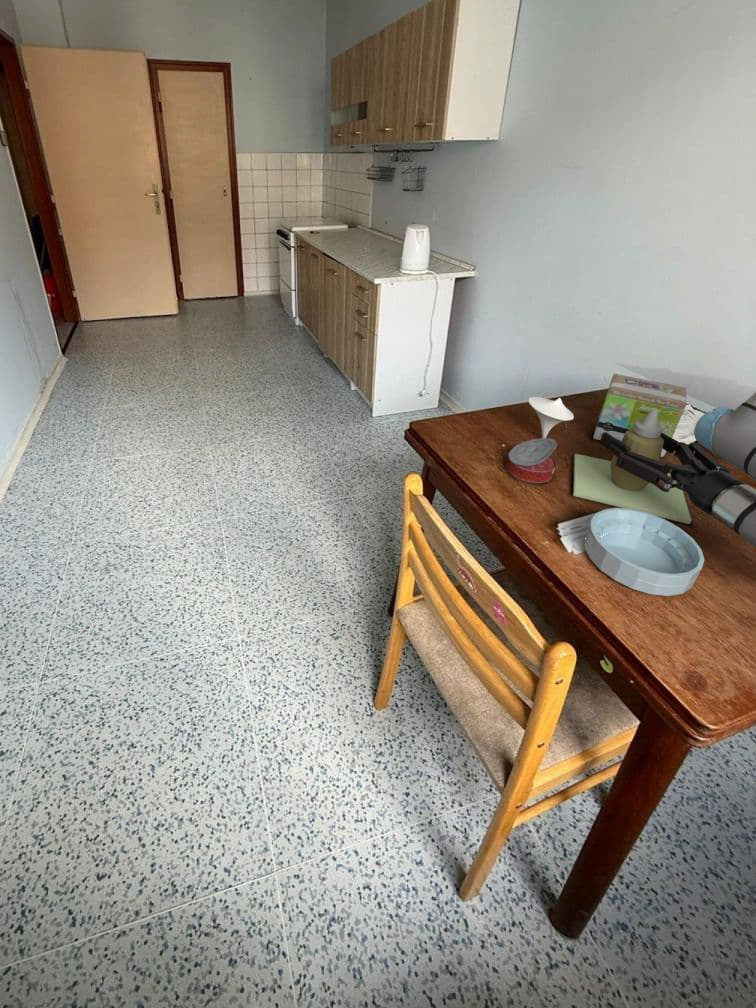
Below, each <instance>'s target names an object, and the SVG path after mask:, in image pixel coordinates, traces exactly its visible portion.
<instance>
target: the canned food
mask: <svg viewBox="0 0 756 1008" xmlns="http://www.w3.org/2000/svg"><path fill="white" fill-rule="evenodd" d="M557 447H558V443H557V440H556V439H553V438H550V437H546V438H542V437H540V438H532V439H530V440H526V441H522V442H521V443H519V444H516V445H515V446H514V447H513V448H511V450H510V451H509V452H508V455H507V460H506V464H505V467H506V470H507V471H508V473H509V474H510V475H512V476H513V477H515V478H516V479H519V480H521V481H523V482H528V483H532V484H541V483H545V482H546V483H547V482H549V481H551V480H552V479H553V477H554V473H555V469H556V466H557V462H556V460H555V458H554V457H553V456H552V454H553V452H554V451H555V450H556V449H557Z"/></svg>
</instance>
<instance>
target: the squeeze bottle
mask: <svg viewBox="0 0 756 1008" xmlns="http://www.w3.org/2000/svg"><path fill="white" fill-rule="evenodd" d="M657 421H658V409H656V408H651V410H650V411H649V412H648V414H647V415H646V417H645V418H644V419H643V420H638V421H636V422H635V424H634V427H633V429H629V430H627V431H626V433H625V435H624V437H623V439H622V441H621V442H622V443H623V444H625V445H626V446H628V447H630V448H631V452H634V453H637V454H639V455H642V456H645V457H648V458H651V459H654V460H656V461H659V462H660V460H661V457H660V456H661V452H662V448H663V444H664V439H663V438H662V437H661V436H660V435H661V433H662V430H663V428H662V427H661V426H660V425H659V424H657ZM617 459H618V457H617V456H615V455H614V454H613V457H612V459H611V460H610V461H611V465H610V467H611V478H612V481H613V483H614V484H616V485H617V486H618V487H621V488H623V489H626V490H629V491H640V490H642V489H643V488H644V487H645V486H646V485H647V484H649V482H647V481H645V480H643V479H641V478H639V477H637V476H635V475H633V474H631V473H629V472H627V471H626V470H624V469H622V468H620V467H618V466H616V462H617Z"/></svg>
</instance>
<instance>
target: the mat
mask: <svg viewBox="0 0 756 1008" xmlns="http://www.w3.org/2000/svg"><path fill="white" fill-rule="evenodd" d="M573 455H574V456H573V483H572V485H573V487H572V496H573V497H577V498H581V499H585V500H589V501H592V502H593V501H594V502H596V503H602V504H605V505H610V506H613V507H616V508H626V509H634V510H638V511H642V512H647V513H650V514H652V515H655V516H657V517H660V518H662V519H665V520H671V521H675V522H678V523H683V524H687V525H691V522H692V518H691V514H690V511H689V508H688V504H687V501H686V498H685V497H686V496H685V493H684V491H682V490H680V489H677V488H670V490H669V492H663V491H662V490H660V489H659V488H658V487H656V486H655V485H653V484H651V483H649V484H647V485H646V486H645V487H644V488H643V489H642V490H640V491H629V490H626V489H623V488H621V487H618V486H617V485H616V484H614V483H613V481H612V478H611V467H610V465H611V461H612V460H607V459H603V458H597V457H593V456H587V455H582V454H579V453H574V454H573ZM668 475H671V473H670V472H669V473H668ZM670 478H671V477H670Z"/></svg>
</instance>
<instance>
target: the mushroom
mask: <svg viewBox="0 0 756 1008" xmlns="http://www.w3.org/2000/svg"><path fill="white" fill-rule="evenodd" d="M527 402H528V404H529V406H530V407H531V408H532V409H533V410H534V411H535V412H536V414H537V416H538V418H539V421H540V427H541V438H548V434H549V433H550V431H551V430H552V429H553V427H555V426H557V425H558V424H559V423H562V422H567V421H573V420H574V418H575V416H574V413H573V412H572V411H571V410H570V409H569V408H568V407H566V405H564V403H563V401H562V399H561V397H558V398H557V399H554V400H552V399H549V398H545V397H541V396H531V397H529V398H528V401H527Z"/></svg>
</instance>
